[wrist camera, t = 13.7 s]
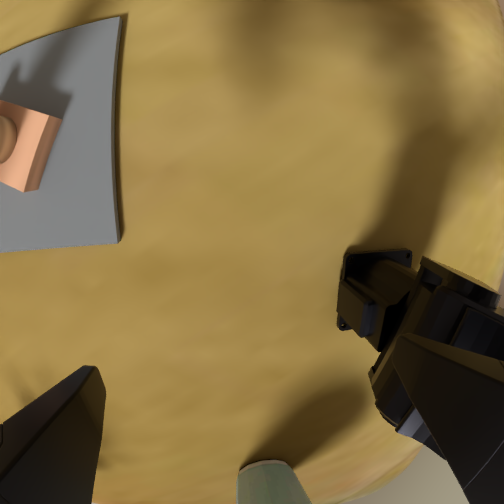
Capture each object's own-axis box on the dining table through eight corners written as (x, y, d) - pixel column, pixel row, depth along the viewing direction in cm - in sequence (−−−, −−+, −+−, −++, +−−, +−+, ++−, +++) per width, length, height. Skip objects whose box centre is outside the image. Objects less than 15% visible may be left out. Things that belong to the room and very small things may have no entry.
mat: (122, 21, 14) (119, 16, 14) (120, 240, 19) (117, 243, 18) (-34, 77, 12) (-39, 75, 11) (-32, 253, 16) (-38, 256, 16)
